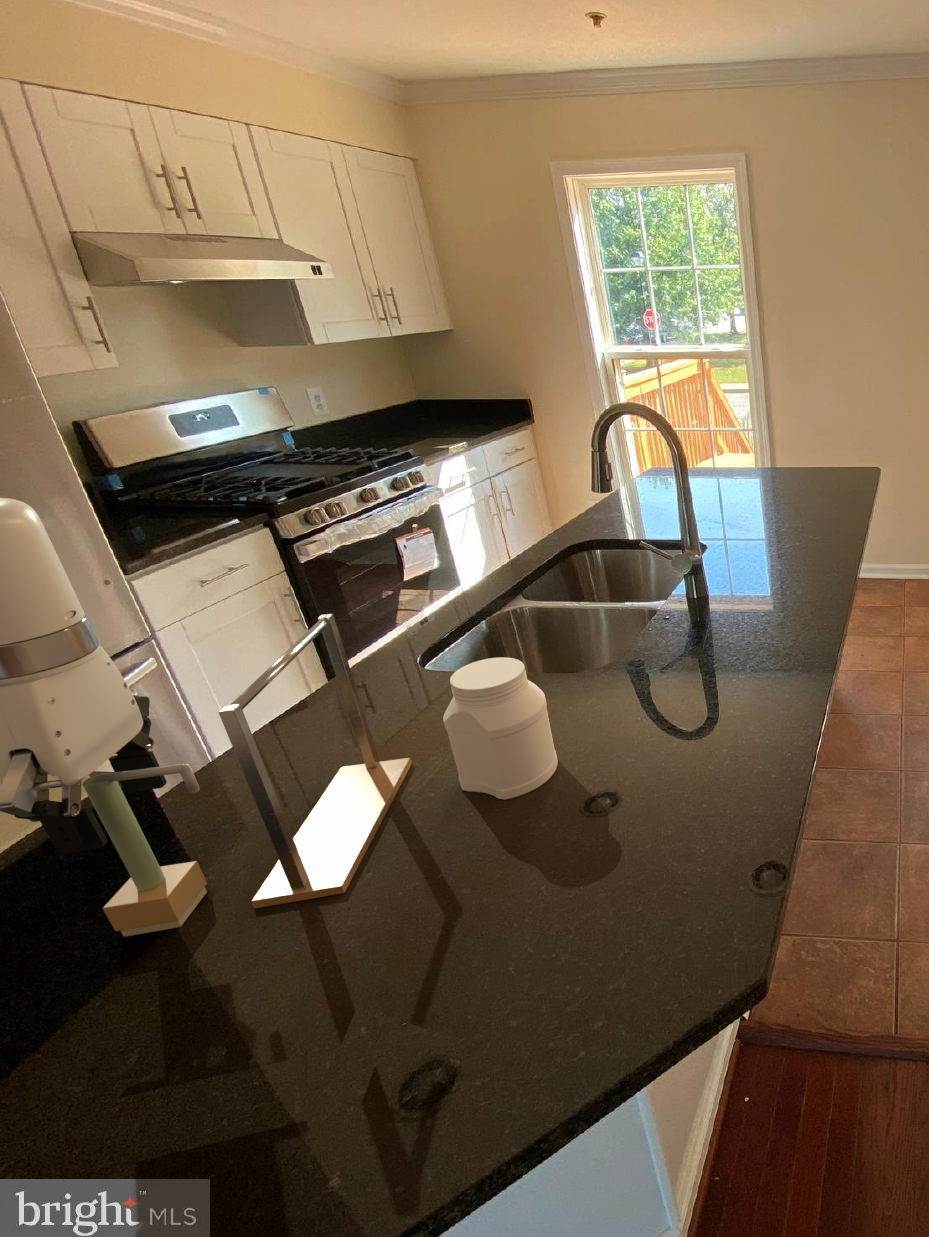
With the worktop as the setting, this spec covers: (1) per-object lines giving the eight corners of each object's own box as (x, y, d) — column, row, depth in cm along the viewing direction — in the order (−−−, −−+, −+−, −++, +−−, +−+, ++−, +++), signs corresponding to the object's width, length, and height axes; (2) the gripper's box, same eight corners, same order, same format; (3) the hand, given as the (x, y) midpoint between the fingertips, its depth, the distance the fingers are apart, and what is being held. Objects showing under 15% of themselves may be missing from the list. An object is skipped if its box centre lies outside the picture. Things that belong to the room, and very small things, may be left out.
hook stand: (119, 939, 66) (39, 797, 60) (152, 899, 71) (81, 763, 64) (235, 919, 69) (171, 780, 62) (260, 882, 73) (203, 748, 66)
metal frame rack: (253, 909, 70) (169, 719, 61) (343, 772, 90) (289, 615, 81) (344, 893, 72) (275, 707, 63) (412, 763, 92) (367, 609, 83)
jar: (445, 786, 88) (417, 684, 82) (501, 745, 96) (479, 649, 90) (521, 804, 85) (497, 699, 79) (571, 759, 93) (553, 661, 87)
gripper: (53, 612, 64) (130, 767, 71) (-135, 708, 49) (-14, 895, 56) (152, 604, 66) (217, 756, 73) (0, 695, 51) (101, 877, 58)
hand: (116, 816), depth 64 cm, fingers open, 7 cm apart
